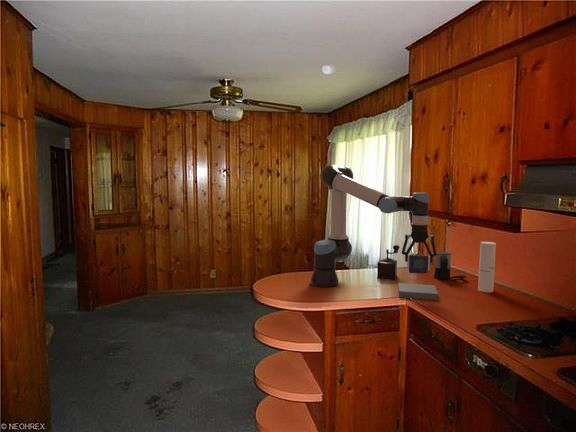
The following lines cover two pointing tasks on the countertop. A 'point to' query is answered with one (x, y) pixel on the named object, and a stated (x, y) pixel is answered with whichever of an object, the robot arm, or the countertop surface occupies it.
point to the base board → (417, 291)
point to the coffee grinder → (388, 266)
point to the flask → (418, 263)
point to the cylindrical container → (487, 266)
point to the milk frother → (444, 266)
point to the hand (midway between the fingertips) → (418, 268)
